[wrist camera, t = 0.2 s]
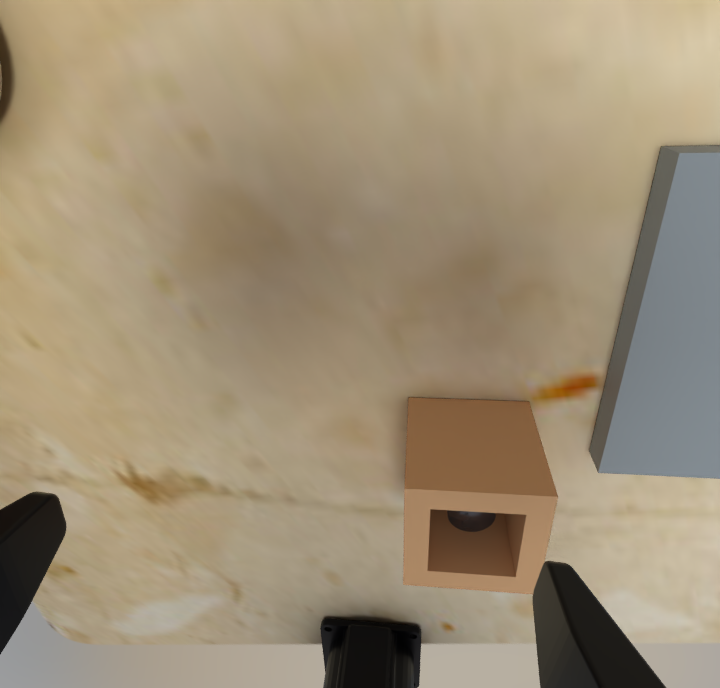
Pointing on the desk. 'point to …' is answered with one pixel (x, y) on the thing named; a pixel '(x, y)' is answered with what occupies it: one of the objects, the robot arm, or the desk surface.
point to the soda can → (0, 81)
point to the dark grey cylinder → (470, 520)
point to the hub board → (669, 331)
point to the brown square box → (475, 495)
